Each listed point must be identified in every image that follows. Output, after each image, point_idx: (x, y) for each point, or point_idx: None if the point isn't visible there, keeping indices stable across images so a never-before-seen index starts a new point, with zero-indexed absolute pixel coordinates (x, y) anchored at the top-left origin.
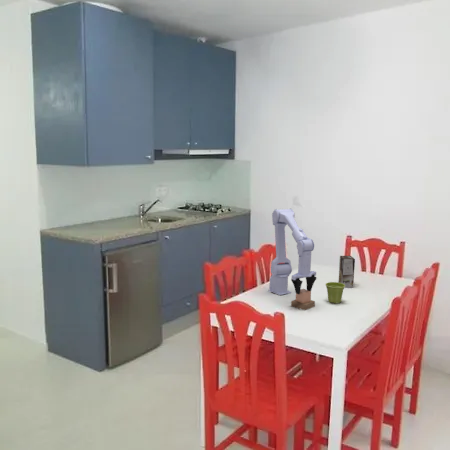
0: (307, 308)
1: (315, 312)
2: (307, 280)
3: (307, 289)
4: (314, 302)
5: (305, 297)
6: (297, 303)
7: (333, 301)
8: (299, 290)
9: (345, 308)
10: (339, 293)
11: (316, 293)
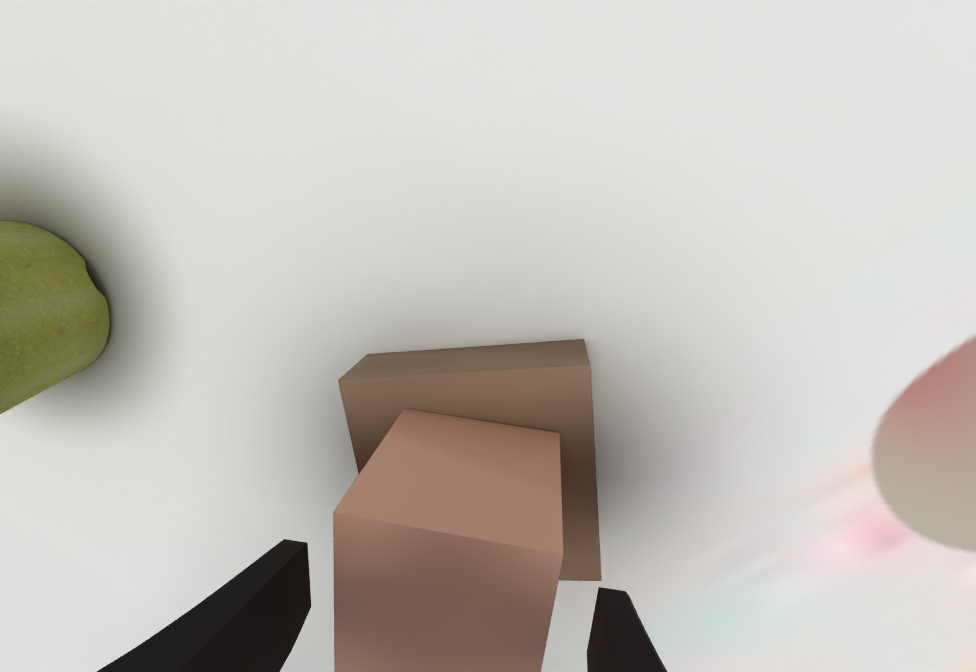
0: (531, 346)
1: (547, 193)
2: None
3: (299, 615)
4: (353, 372)
5: (500, 473)
6: (596, 486)
7: (70, 270)
8: (651, 661)
9: (72, 22)
10: None
11: (65, 570)
